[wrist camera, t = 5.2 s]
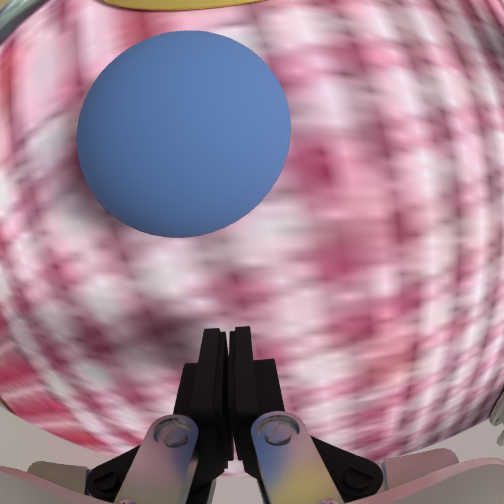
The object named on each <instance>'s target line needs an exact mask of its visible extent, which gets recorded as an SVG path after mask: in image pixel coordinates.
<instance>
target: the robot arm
mask: <svg viewBox="0 0 504 504" xmlns="http://www.w3.org/2000/svg"><path fill="white" fill-rule="evenodd" d="M490 422H491V424H492V425H493V426H497V425H499V424H501V423H503V424H504V392H503V393H502V395H501V396H500V398H499V400H498V401H497V403H496V405H495V406H494V408H493V410H492V413H491V415H490ZM233 437H234V442H235V447H236V452H237V456H238V460H243V465H244V470H245V472H246V473H248V474H249V475H251V476H253V477H254V478H256V479H257V483H258V486H259V490H260V493H261V496H262V500H263V503H264V504H504V460H501V459H499V458H479V459H473V460H468V461H464V462H460V463H459V461H458V458H457V456H456V455H455V453H453V452H452V451H451V450H448V449H444V448H442V449H435V450H431V451H426V452H422V453H417V454H413V455H407V456H402V457H396V458H389V459H384V461H383V462H378V463H374V462H372V461H370V460H368V459H365V458H363V457H360V456H357V455H355V454H352V453H350V452H347V451H345V450H342V449H340V448H337V447H335V446H333V445H330V444H328V443H326V442H323V441H321V440H319V439H317V438H315V437H312V436H310V435H309V432H308V430H307V428H306V426H305V424H304V423H303V421H302V420H301V419H300V418H299V417H298V416H296V415H295V414H292V413H289V412H285V409H284V404H283V399H282V394H281V389H280V384H279V379H278V374H277V369H276V365H275V360H274V359H263V360H253V353H252V342H251V331H250V326H244V327H235V331H230V339H229V354H228V347H227V339H226V332H220V329H219V328H210V329H204V333H203V338H202V344H201V349H200V355H199V360H198V363H186V364H185V365H184V368H183V372H182V376H181V380H180V385H179V389H178V393H177V398H176V402H175V407H174V411H173V414H172V415H166V416H163V417H161V418H158V419H157V420H156V421H154V422H153V423H152V425H151V426H150V427H149V429H148V431H147V434H146V436H145V438H144V440H143V442H142V444H141V445H139V446H137V447H135V448H133V449H131V450H130V451H128V452H126V453H124V454H122V455H120V456H118V457H116V458H114V459H112V460H110V461H107V462H105V463H103V464H101V465H99V466H97V467H95V468H94V469H92V470H90V469H88V468H87V467H84V466H83V467H82V466H73V465H63V464H56V463H50V462H44V461H40V462H39V461H38V462H35V463H33V464H32V465H31V466H30V467H29V469H28V471H27V472H24V471H22V470H18V469H15V468H10V467H5V466H0V504H211V503H212V499H213V494H214V490H215V486H216V478H217V477H218V476H219V475H221V474H222V473H223V472H224V469H228V461H233V460H234V445H233ZM497 444H498V445H500V446H503V445H504V430H503V431H502V433H501V434H500V436H499V437H498V439H497Z"/></svg>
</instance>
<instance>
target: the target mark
mask: <svg viewBox="0 0 504 504" xmlns="http://www.w3.org/2000/svg"><path fill="white" fill-rule="evenodd" d="M103 1H105V2H107V3H109V4H113V5H116V6H120V7H125V8H131V9H138V10H153V11H160V10H168V11H176V10H196V9H206V8H219V7H226V6H234V5H243V4H248V3H254V2H261V1H266V0H103Z"/></svg>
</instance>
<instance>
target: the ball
mask: <svg viewBox="0 0 504 504" xmlns="http://www.w3.org/2000/svg"><path fill="white" fill-rule="evenodd" d="M290 134H291V122H290V113H289V107H288V103H287V99H286V97H285V94H284V92H283V89H282V87H281V85H280V83H279V81H278V79H277V78H276V76H275V75H274V73H273V72H272V71H271V69H270V68H269V66H268V65H267V64H266V63H265V62H264V61H263V60H262V59H261V58H260V57H259V56H258V55H257V54H255V53H254V52H253V51H252V50H250V49H249V48H247V47H246V46H244V45H242V44H240V43H239V42H237V41H235V40H233V39H231V38H228V37H225V36H222V35H218V34H215V33H210V32H205V31H175V32H168V33H164V34H160V35H156V36H153V37H151V38H148V39H145V40H143V41H141V42H139V43H137V44H135V45H133V46H132V47H130V48H128V49H127V50H125V51H124V52H123V53H121V54H120V55H119V56H118V57H116V58H115V59H114V60H113V61H112V62H111V63H110V64H109V65H108V66H107V67H106V68H105V69H104V70H103V71H102V72H101V74H100V75H99V76H98V77H97V79H96V81H95V82H94V84H93V85H92V87H91V89H90V90H89V92H88V94H87V96H86V99H85V101H84V104H83V107H82V110H81V113H80V117H79V121H78V129H77V151H78V158H79V163H80V167H81V170H82V172H83V175H84V178H85V180H86V182H87V185H88V187H89V188H90V190H91V191H92V193H93V194H94V196H95V197H96V199H97V200H98V201H99V203H100V204H101V205H102V206H103V207H104V208H105V209H106V210H107V211H108V212H109V213H111V214H112V215H113V216H114V217H116V218H117V219H118V220H120V221H121V222H123V223H124V224H127V225H129V226H131V227H133V228H135V229H137V230H139V231H141V232H145V233H148V234H151V235H156V236H163V237H171V238H185V237H194V236H200V235H204V234H208V233H212V232H214V231H217V230H220V229H222V228H225V227H227V226H229V225H230V224H232V223H234V222H236V221H238V220H239V219H241V218H242V217H244V216H245V215H247V214H248V213H249V212H250V211H251V210H253V209H254V208H255V207H256V206H257V205H258V204H259V203H260V202H261V201H262V200H263V198H264V197H265V196H266V195H267V194H268V193H269V191H270V190H271V188H272V187H273V185H274V184H275V182H276V181H277V179H278V177H279V175H280V173H281V171H282V169H283V166H284V163H285V160H286V157H287V154H288V150H289V143H290Z"/></svg>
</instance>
